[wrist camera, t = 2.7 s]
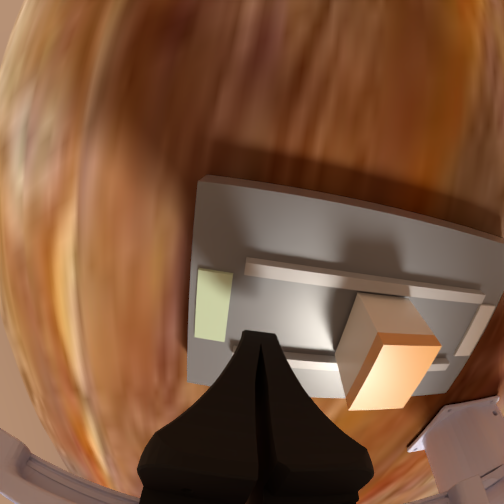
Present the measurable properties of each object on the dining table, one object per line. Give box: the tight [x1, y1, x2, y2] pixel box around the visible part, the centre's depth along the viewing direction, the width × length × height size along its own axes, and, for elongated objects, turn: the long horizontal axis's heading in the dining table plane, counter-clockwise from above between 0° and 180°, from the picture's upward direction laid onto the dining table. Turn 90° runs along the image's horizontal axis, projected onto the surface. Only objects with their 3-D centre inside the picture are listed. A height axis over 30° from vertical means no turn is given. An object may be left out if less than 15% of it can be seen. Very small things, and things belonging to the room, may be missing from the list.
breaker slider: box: [335, 292, 442, 410], centre depth 13 cm, size 3×4×4 cm
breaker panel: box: [187, 175, 504, 398], centre depth 15 cm, size 19×12×3 cm, turn 82°
